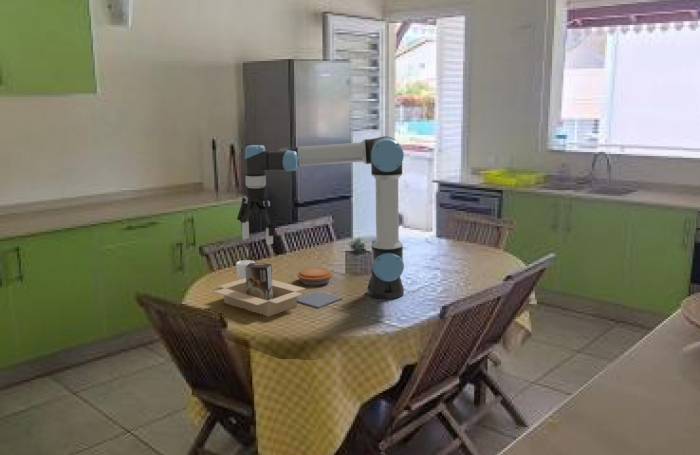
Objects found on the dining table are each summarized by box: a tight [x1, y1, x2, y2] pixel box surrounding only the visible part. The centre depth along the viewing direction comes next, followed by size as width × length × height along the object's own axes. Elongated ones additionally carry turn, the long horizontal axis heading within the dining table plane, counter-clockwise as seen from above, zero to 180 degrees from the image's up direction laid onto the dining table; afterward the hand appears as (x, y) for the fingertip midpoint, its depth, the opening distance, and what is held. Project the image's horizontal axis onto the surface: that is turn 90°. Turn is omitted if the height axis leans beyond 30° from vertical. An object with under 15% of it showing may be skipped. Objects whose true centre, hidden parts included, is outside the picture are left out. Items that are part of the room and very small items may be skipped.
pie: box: [296, 267, 333, 286], centre depth 277 cm, size 16×16×5 cm
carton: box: [213, 278, 306, 317], centre depth 247 cm, size 33×25×6 cm
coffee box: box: [245, 262, 273, 301], centre depth 246 cm, size 9×6×16 cm
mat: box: [297, 290, 343, 309], centre depth 253 cm, size 14×14×1 cm
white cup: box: [235, 259, 256, 280], centre depth 273 cm, size 8×8×10 cm
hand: (257, 241), depth 243 cm, fingers open, 13 cm apart
